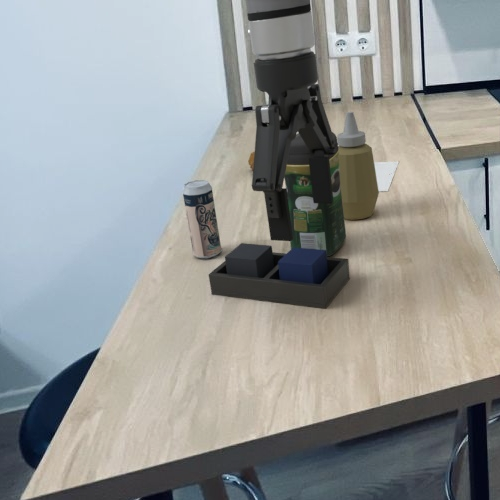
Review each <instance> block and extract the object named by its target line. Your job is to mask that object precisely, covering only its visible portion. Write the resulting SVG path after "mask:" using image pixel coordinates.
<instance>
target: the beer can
mask: <svg viewBox="0 0 500 500" xmlns="http://www.w3.org/2000/svg"><path fill="white" fill-rule="evenodd" d="M181 193H182V196H183V202H184V207H185V208H184V209H185V213H186V219H187V220H186V221H187V225H188V231H189V237H190V243H191V249H192V255H193V256H194V257H196V258H198V259H202V260H205V259H207V260H208V259H212V258H215V257H217V256H218V255H219V254H220V253H221V252H222V250H223V249H222V246H221V244H222V243H221V238H220V232H219V226H218V220H217V219H218V218H217V213H216V206H215V200H214V199H215V198H214V193H213V186H212V185H211V184H210V182H209V180H205V179H198V180H197V179H196V180H192V181H188V182H186V183H184V185H183V188H182V191H181Z"/></svg>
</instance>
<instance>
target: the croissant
mask: <svg viewBox="0 0 500 500" xmlns="http://www.w3.org/2000/svg"><path fill="white" fill-rule="evenodd" d="M254 153H255V150H254V151H253V152H251V153H250V155H249V157H248V165H249V168H250V169H251V171H253V166H254Z"/></svg>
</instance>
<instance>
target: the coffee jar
mask: <svg viewBox="0 0 500 500" xmlns="http://www.w3.org/2000/svg"><path fill="white" fill-rule="evenodd" d="M332 134H333V137H334V140H335V145H334V147H335V148H336V153H335V155H328V157H329V162H330V172H331V182H332V191H333V201H334V202H333V203H332V204H322V203H314V202H313V193H312V185H311V176H310V167H309V158H310V157H315V155H312V154H311V153H310V151H309V149H308V148H307V146H306V144H305V143H304V141H303V139H302V138H301V136H300V134H299V132H297V134H296V137H295V139H293V140H292V141H291V145H290V150H289V156H288V161H287V166H286V171H285V176H284V185H285V188H287V195H288V203H289V211H290V218H291V226H292V234H293V239H292V240H291V241H289V243H290V250H291V249H292V248H293V247H294V248H306V249H318V250H326V255H327V257H331V256H332V255H334V254H336V253H337V252H338V251H339V249H341V248H342V246H343V245H344V243H345V241H346V238H347V231H346V230H347V229H346V222H345V219H344V213H343V205H342V195H341V186H340V175H339V151H338V146H339V145H338V141H337V135H336V133H334V132H333V131H332ZM325 138H326V137H325Z"/></svg>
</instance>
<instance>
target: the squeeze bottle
mask: <svg viewBox="0 0 500 500" xmlns="http://www.w3.org/2000/svg"><path fill="white" fill-rule="evenodd" d="M356 120H357V119H356V117H355V114H354V111H347V112H345V118H344V125H343V131H342V132H341V133H338V134H337V135H336V137H337V143H338V151H339V175H340V186H341V195H342V205H343V213H344V220H351V221H353V220H364V219H367V218H370V217H371V216H373V215H374V212H375V208H376V205H377V201H378V198H379V194H380V191H379V190H378V184H377V178H376V172H375V165H374V162H375V160H374V155H373V154H374V153H373V149H372V148H373V147H372V146H371V145H369V144H367V143H366V142H367V138H366V133H365V132H364V131H361V130H359V127H358V124H357V121H356Z"/></svg>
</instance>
